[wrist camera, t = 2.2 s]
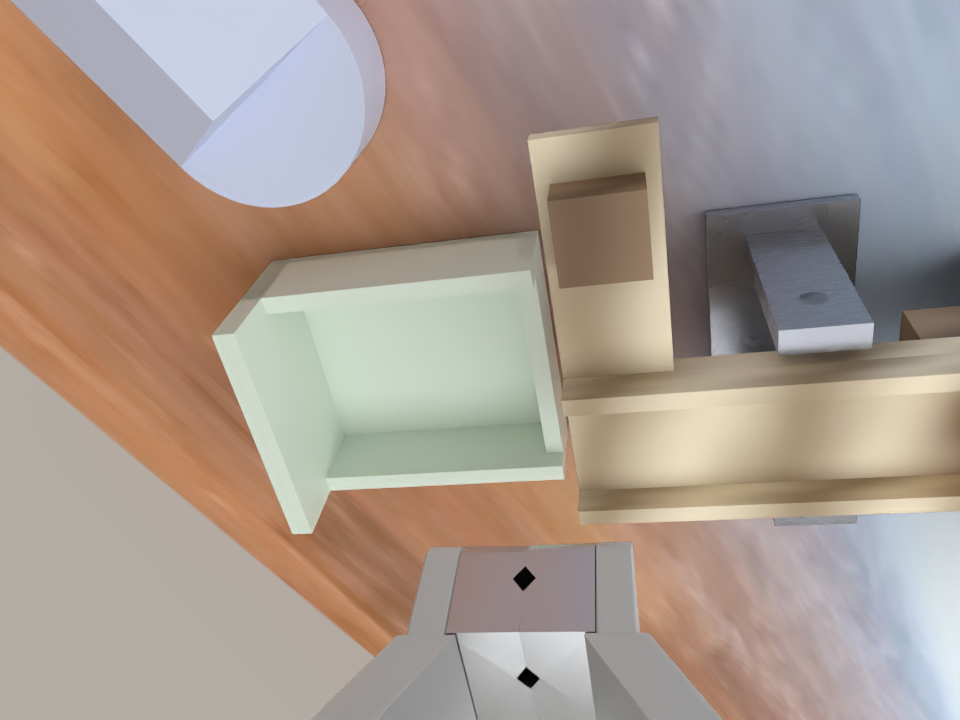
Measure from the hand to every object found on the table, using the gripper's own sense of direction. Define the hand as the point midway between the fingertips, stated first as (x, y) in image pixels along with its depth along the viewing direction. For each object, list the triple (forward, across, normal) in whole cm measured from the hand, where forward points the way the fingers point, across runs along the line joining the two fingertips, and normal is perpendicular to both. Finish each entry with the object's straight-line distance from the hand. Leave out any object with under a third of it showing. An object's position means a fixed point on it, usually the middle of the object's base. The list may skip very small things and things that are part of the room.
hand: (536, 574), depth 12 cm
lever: (+17, -8, +10) cm, 21 cm away
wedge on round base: (+22, +16, -11) cm, 29 cm away
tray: (+25, +8, +10) cm, 28 cm away
